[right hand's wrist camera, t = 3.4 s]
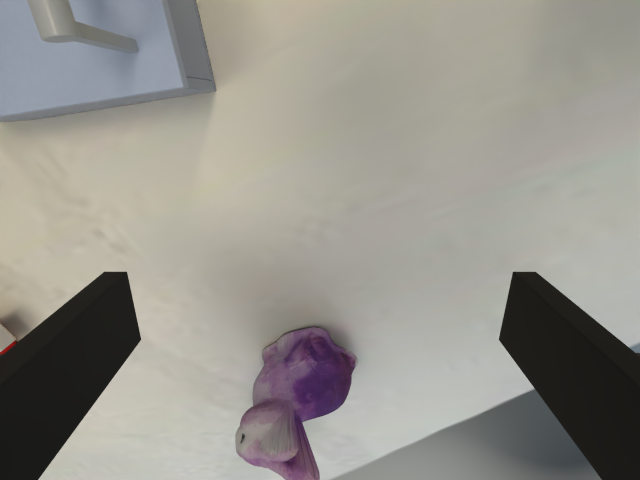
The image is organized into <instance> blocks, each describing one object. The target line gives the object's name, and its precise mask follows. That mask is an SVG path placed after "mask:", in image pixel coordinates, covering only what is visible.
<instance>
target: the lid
mask: <svg viewBox="0 0 640 480" xmlns="http://www.w3.org/2000/svg"><path fill="white" fill-rule="evenodd" d="M184 88H189V85H188V81H187V77H186V73H185V69H184V65H183V61H182V57H181V54H180V50H179V46H178V42H177V38H176V34H175V30H174V26H173V22H172V18H171V14H170V10H169V6H168V2H167V0H0V118H1V117H7V116H13V115H20V114H26V113H32V112H39V111H45V110H51V109H58V108H64V107H70V106H77V105H83V104H89V103H96V102H102V101H108V100H115V99H121V98H127V97H134V96H140V95H146V94H153V93H159V92H165V91H172V90H178V89H184Z"/></svg>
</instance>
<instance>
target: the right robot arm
mask: <svg viewBox="0 0 640 480" xmlns="http://www.w3.org/2000/svg"><path fill="white" fill-rule="evenodd" d="M140 340H141V337H140V332H139V327H138V322H137V318H136V313H135V308H134V303H133V299H132V294H131V289H130V284H129V280H128V275H127V272H104V273H102V274H101V275H100V276H99V277H97V278H96V279H95V280H94V281H93V282H91V283H90V284H89V285H88V286H86V287H85V288H84V289H83V290H81V291H80V292H79V293H78V294H77V295H75V296H74V297H73V298H72V299H70V300H69V301H68V302H67V303H65V304H64V305H63V306H62V307H61V308H59V309H58V310H57V311H56V312H54V313H53V314H52V315H51V316H49V317H48V318H47V319H46V320H45V321H43V322H42V323H41V324H40V325H38V326H37V327H36V328H35V329H34V330H32V331H31V332H30V333H29V334H27V335H26V336H25V337H24V338H22V339H21V340H20V341H19V342H18V343H16V344H15V345H14V346H13V347H11V348H10V349H9V350H8V351H6V352H5V353H4V354H0V480H38V479H39V478H40V476H41V475H42V474H43V472H44V471H45V469H46V468H47V467H48V465H49V464H50V463H51V461H52V460H53V459H54V457H55V456H56V455H57V453H58V452H59V450H60V449H61V448H62V446H63V445H64V444H65V442H66V441H67V440H68V438H69V437H70V436H71V434H72V433H73V431H74V430H75V429H76V427H77V426H78V425H79V423H80V422H81V421H82V419H83V418H84V417H85V415H86V414H87V412H88V411H89V410H90V408H91V407H92V406H93V404H94V403H95V402H96V400H97V399H98V397H99V396H100V395H101V393H102V392H103V391H104V389H105V388H106V387H107V385H108V384H109V383H110V381H111V380H112V378H113V377H114V376H115V374H116V373H117V372H118V370H119V369H120V368H121V366H122V365H123V364H124V362H125V361H126V359H127V358H128V357H129V355H130V354H131V353H132V351H133V350H134V349H135V347H136V346H137V345H138V343H139V342H140ZM499 340H500V342H501V343H502V345H503V346H504V347H505V349H506V350H507V351H508V353H509V354H510V355H511V357H512V358H513V359H514V361H515V362H516V364H517V365H518V366H519V368H520V369H521V370H522V372H523V373H524V374H525V376H526V377H527V378H528V380H529V381H530V383H531V384H532V385H533V387H534V388H535V389H536V391H537V392H538V393H539V395H540V396H541V397H542V399H543V400H544V402H545V403H546V404H547V406H548V407H549V408H550V410H551V411H552V412H553V414H554V415H555V417H556V418H557V419H558V421H559V422H560V423H561V425H562V426H563V427H564V429H565V430H566V431H567V433H568V434H569V436H570V437H571V438H572V440H573V441H574V442H575V444H576V445H577V446H578V448H579V449H580V450H581V452H582V453H583V455H584V456H585V457H586V459H587V460H588V461H589V463H590V464H591V465H592V467H593V468H594V469H595V471H596V472H597V474H598V475H599V476H600V478H601V479H602V480H640V353H635V352H634V351H632V350H631V349H630V348H629V347H627V346H626V345H625V344H624V343H622V342H621V341H620V340H619V339H618V338H616V337H615V336H614V335H613V334H611V333H610V332H609V331H608V330H606V329H605V328H604V327H603V326H602V325H600V324H599V323H598V322H597V321H595V320H594V319H593V318H592V317H591V316H589V315H588V314H587V313H586V312H584V311H583V310H582V309H581V308H579V307H578V306H577V305H576V304H575V303H573V302H572V301H571V300H570V299H568V298H567V297H566V296H565V295H563V294H562V293H561V292H560V291H559V290H557V289H556V288H555V287H554V286H552V285H551V284H550V283H549V282H547V281H546V280H545V279H544V278H543V277H541V276H540V275H539V274H538V273H536V272H513V275H512V280H511V284H510V289H509V294H508V299H507V303H506V308H505V313H504V318H503V322H502V327H501V332H500V337H499Z"/></svg>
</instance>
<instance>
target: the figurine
mask: <svg viewBox="0 0 640 480" xmlns="http://www.w3.org/2000/svg"><path fill="white" fill-rule="evenodd" d="M262 358H263V360H264V363H265V366H264V367H263V369H262V370H261V372H260V374H259V375H258V377H257V378H256V380H255V382H254V385H253V407H251V408H250V409H248V410H247V411H246V412H245V414H244V415H243V417H242V419H241V422H240V427H239V428H238V430H237V432H236V440H235V441H236V452H237V454H238V455H239V456H240V457H242V458H243V459H244V460H245V461H246V462H248V463H250V464H252V465H254V466H259V467H264V468H269V469H270V470H272V471H274V472H276V473H278V474H279V475H281V476H282V477H283V478H284V479H285V480H319V479H320V477H319V470H318V467H317V464H316V461H315V459H314V456H313V453H312V450H311V447H310V444H309V441H308V438H307V436H306V433H305V430H304V427H303V424H302V422H304V421H307V420H310V419H314V418H317V417H320V416H324V415H327V414H329V413H331V412H333V411H335V410H336V409H338V408H339V407H340V406H341V405H342V404H343V403H344V401H345V399H346V397H347V395H348V392H349V389H350V386H351V375H352V372H353V370H354V368H355V367H356V365H357V361H358V359H357V357H356V355H355V354H353V353H352V352H350V351H348V350H346V349H343V348H341V347H339V346H337V345H336V344H335V343H334V342H333V341H332V340H331V338H330V335H329V333H328V332H327V331H326V330H324V329H321V328H317V327H311V328H306V329H301V330H297V331H293V332H290V333H287V334H284V335H283V336H282V337H281V338H280V339H279V340H277V342H276V343H274V344H272V345H270V346H268V347H266V348H265V349H264V350H263V351H262Z"/></svg>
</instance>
